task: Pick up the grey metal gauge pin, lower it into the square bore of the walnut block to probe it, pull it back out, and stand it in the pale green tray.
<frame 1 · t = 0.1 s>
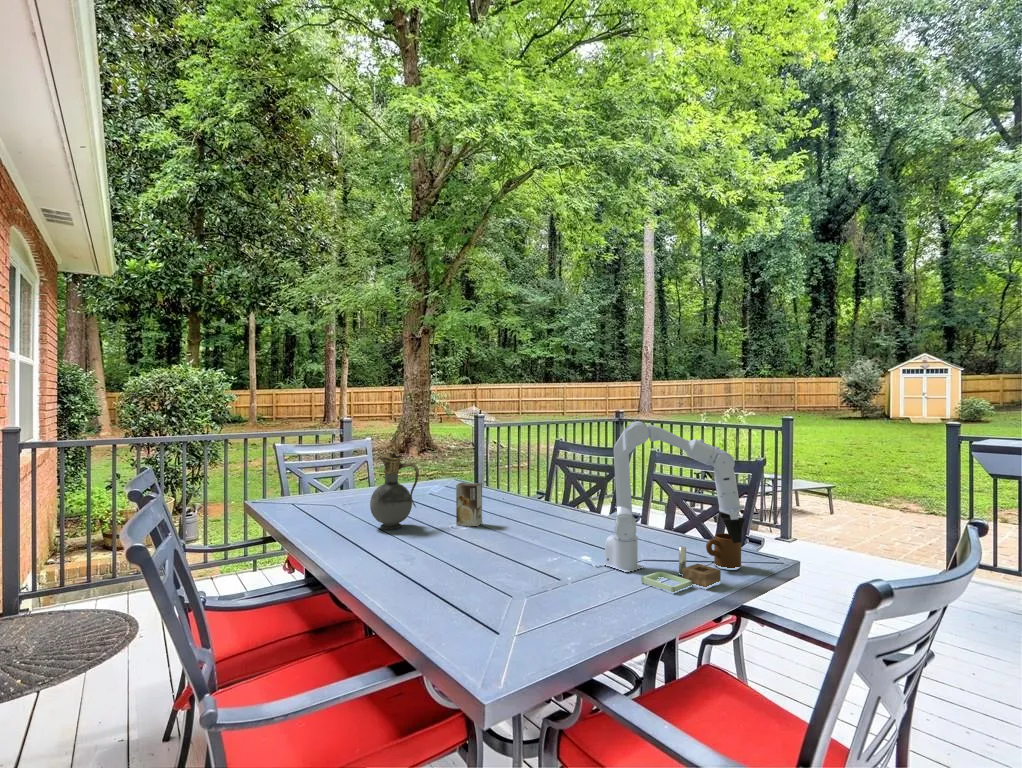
hand: (735, 538, 164), 11 cm above the table, tool pointing down, fingers open, 7 cm apart
walnut block: (701, 583, 156), on the table
gauge pin: (682, 575, 163), on the table
pitcher: (395, 527, 218), on the table
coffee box: (469, 525, 223), on the table
mug: (722, 568, 170), on the table
tray: (666, 585, 155), on the table
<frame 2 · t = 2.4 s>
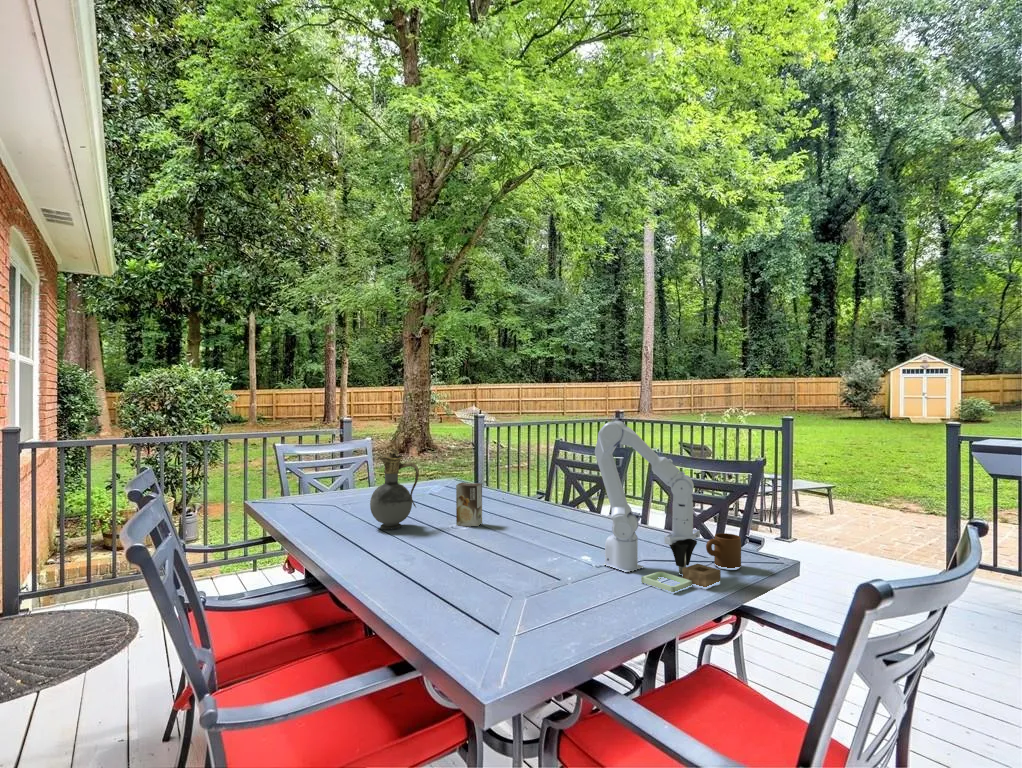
hand: (682, 565, 164), 3 cm above the table, tool pointing down, fingers closed on gauge pin, 2 cm apart
gauge pin: (682, 575, 164), on the table, touching gripper
everything else where it was.
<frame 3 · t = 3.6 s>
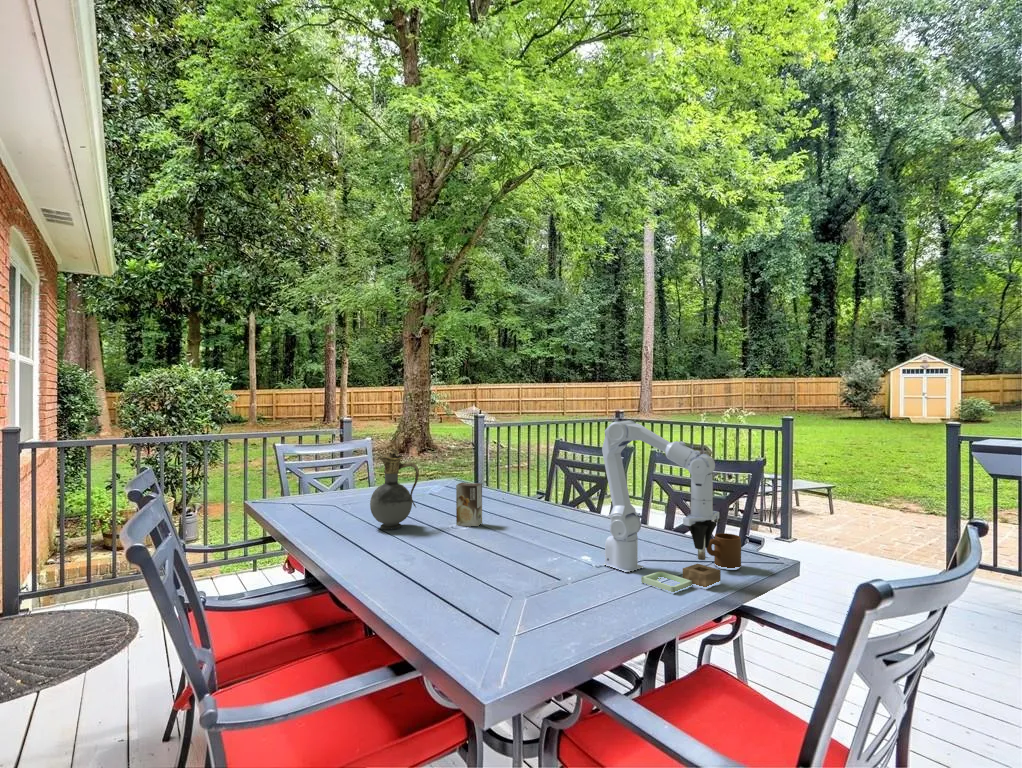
hand: (701, 548, 156), 10 cm above the table, tool pointing down, fingers closed on gauge pin
gauge pin: (701, 558, 156), point 7 cm above the table, touching gripper
everything else where it was.
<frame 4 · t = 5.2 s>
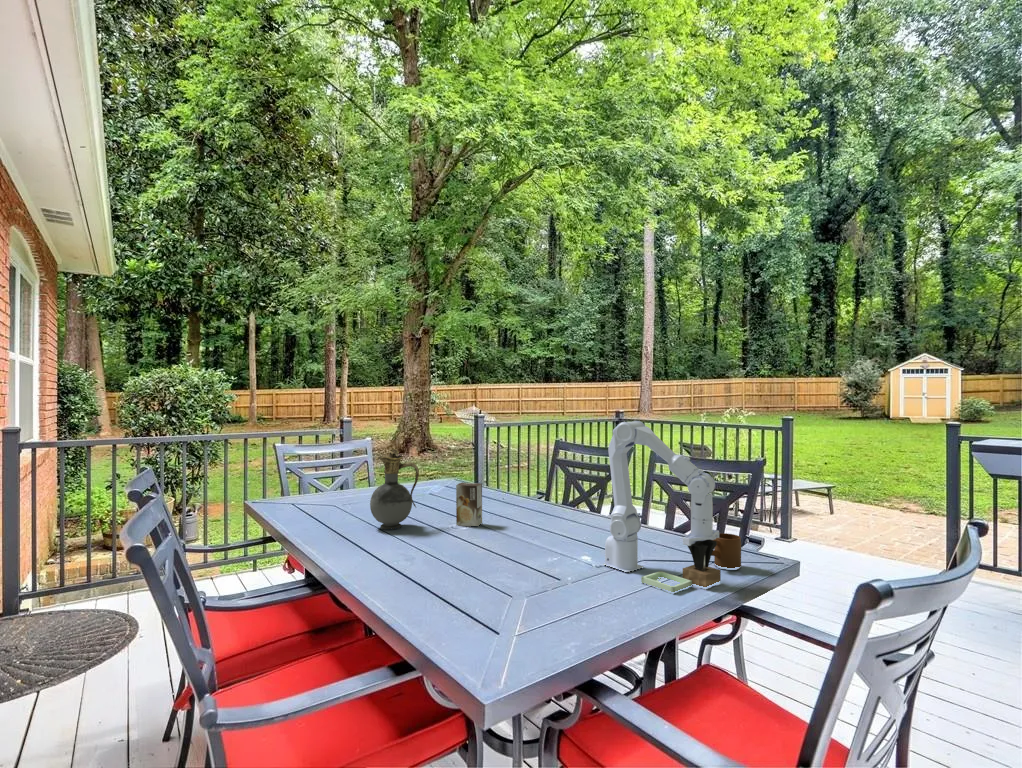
hand: (701, 567, 156), 4 cm above the table, tool pointing down, fingers closed on gauge pin, 2 cm apart
gauge pin: (701, 578, 156), point 1 cm above the table, touching gripper
everything else where it was.
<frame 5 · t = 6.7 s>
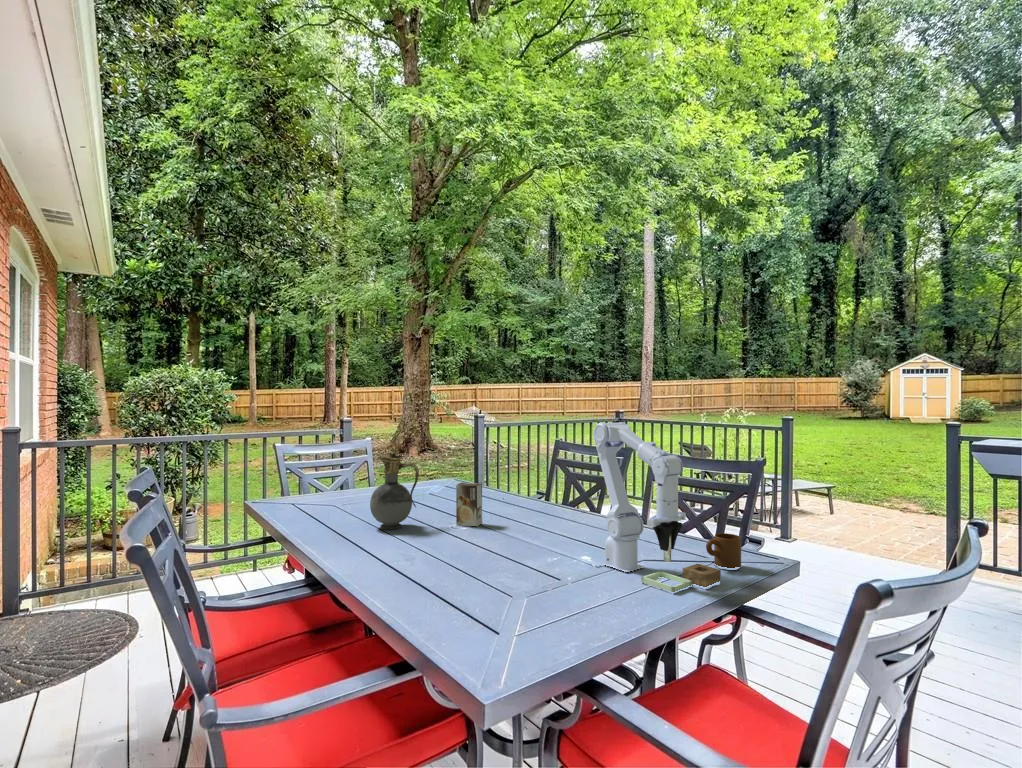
hand: (667, 549, 155), 10 cm above the table, tool pointing down, fingers closed on gauge pin
gauge pin: (667, 560, 155), point 7 cm above the table, touching gripper
everything else where it was.
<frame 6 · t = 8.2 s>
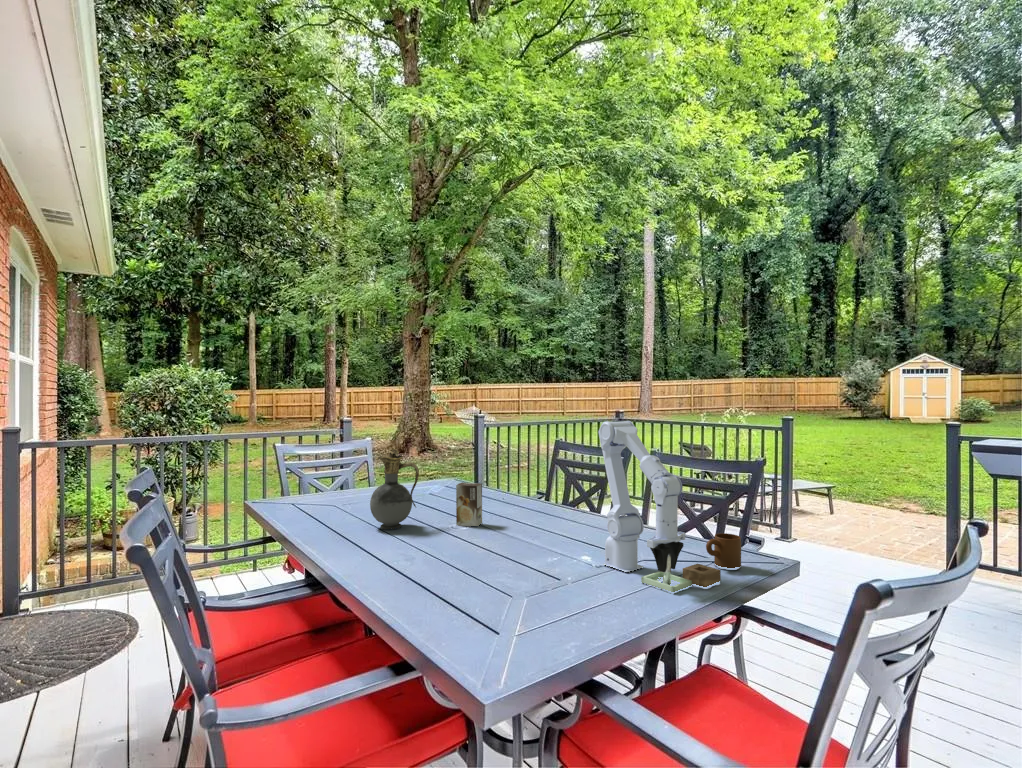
hand: (666, 569, 155), 4 cm above the table, tool pointing down, fingers open, 4 cm apart
gauge pin: (666, 583, 155), point 1 cm above the table, touching tray
everything else where it was.
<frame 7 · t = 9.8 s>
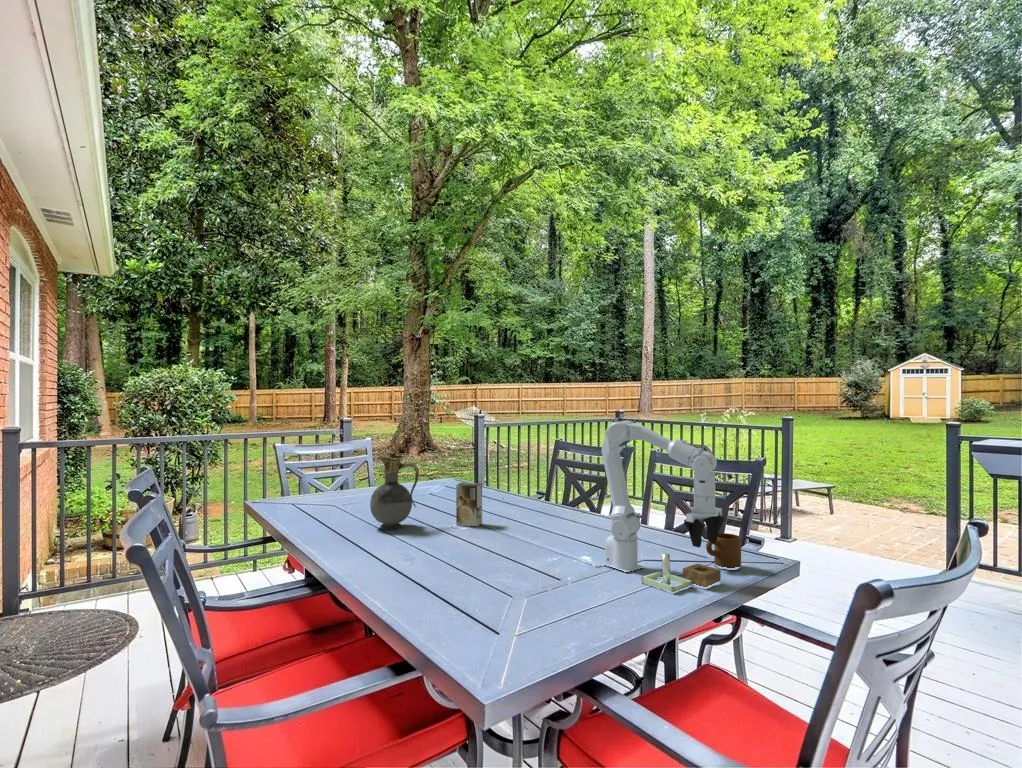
hand: (704, 544, 158), 10 cm above the table, tool pointing down, fingers open, 7 cm apart
nothing on the table moved.
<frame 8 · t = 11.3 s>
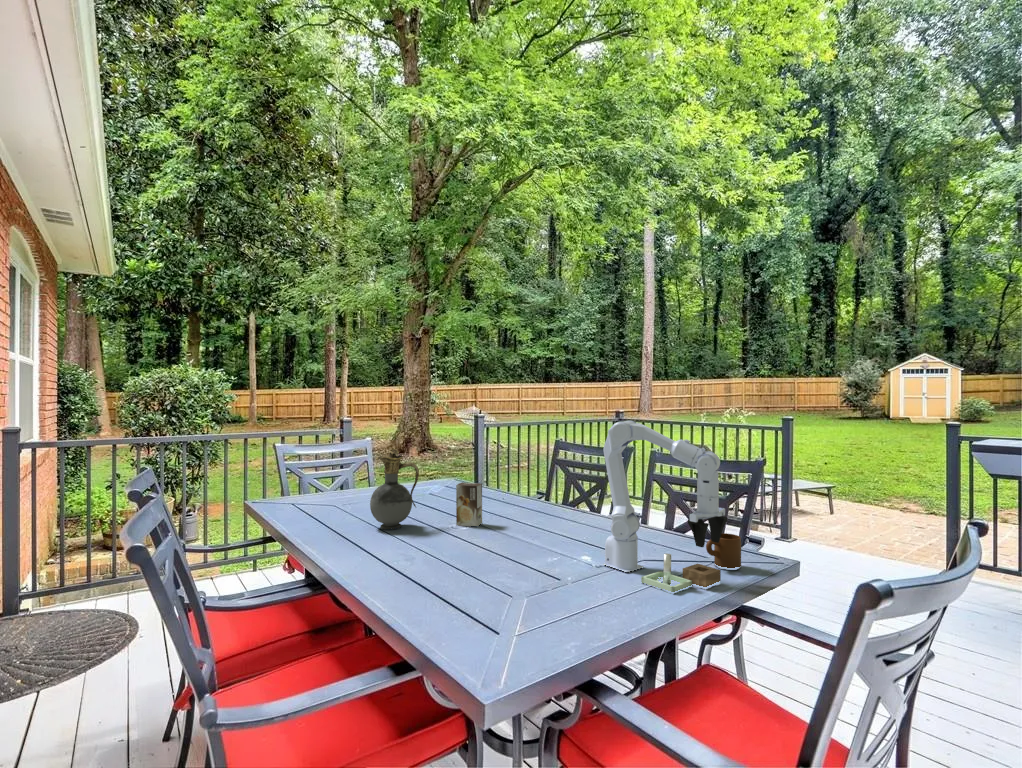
hand: (707, 544, 158), 10 cm above the table, tool pointing down, fingers open, 7 cm apart
nothing on the table moved.
at the end: gauge pin inside the target area on the tray (0.1 cm from its centre), point 0.5 cm above the tray's base; the gripper is holding nothing; walnut block moved 0.0 cm from its start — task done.
